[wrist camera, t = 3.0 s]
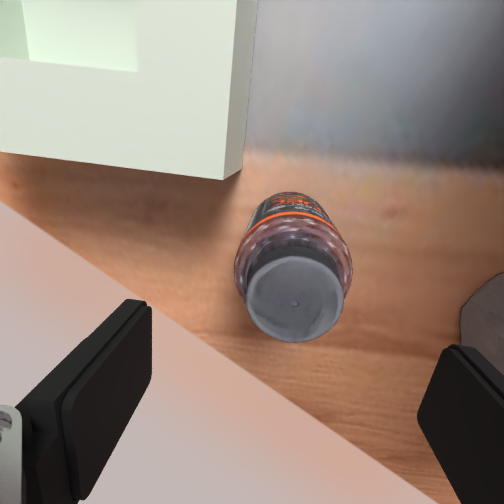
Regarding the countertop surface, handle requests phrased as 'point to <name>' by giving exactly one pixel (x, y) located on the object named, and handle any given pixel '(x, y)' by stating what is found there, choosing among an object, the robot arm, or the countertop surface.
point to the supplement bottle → (293, 268)
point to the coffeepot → (485, 322)
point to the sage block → (128, 82)
